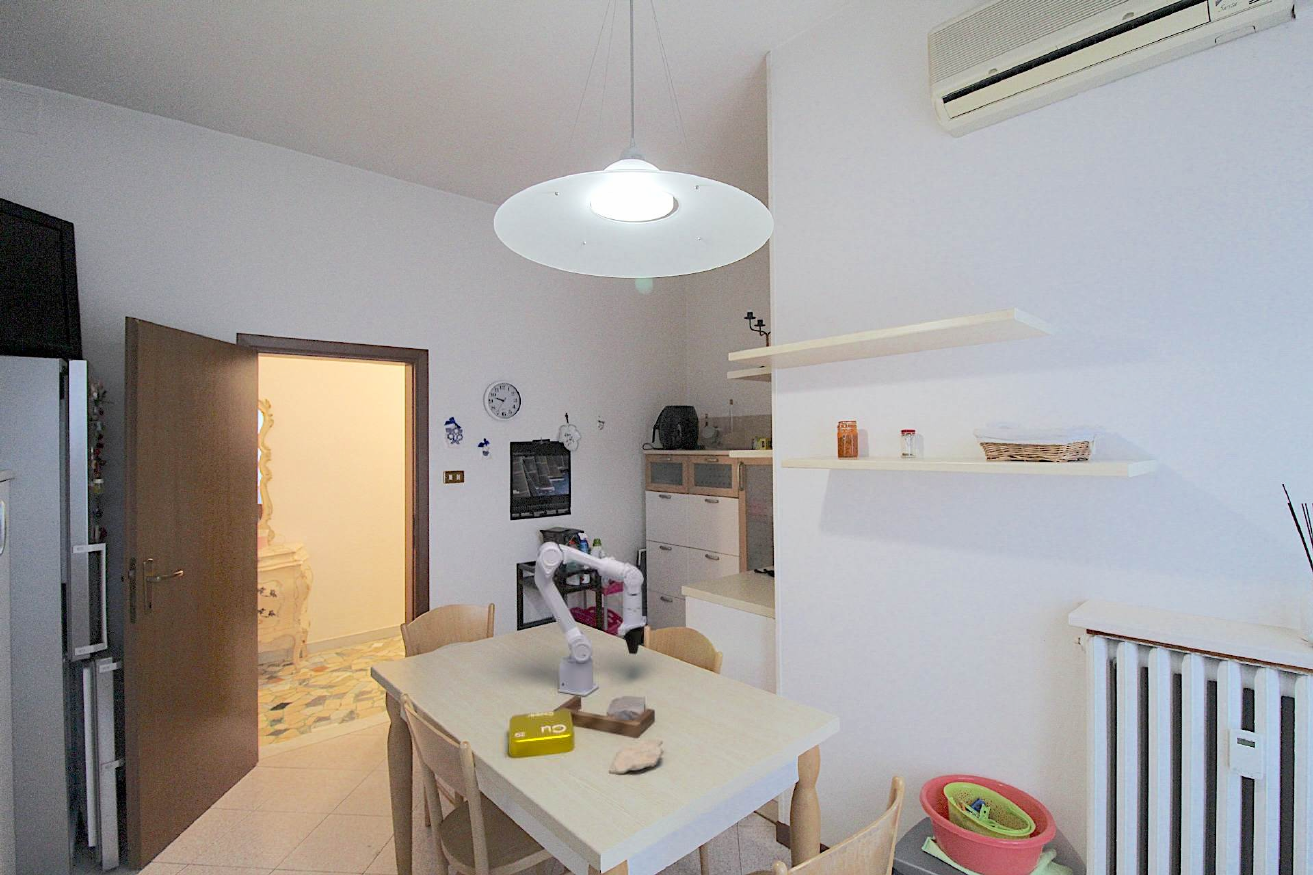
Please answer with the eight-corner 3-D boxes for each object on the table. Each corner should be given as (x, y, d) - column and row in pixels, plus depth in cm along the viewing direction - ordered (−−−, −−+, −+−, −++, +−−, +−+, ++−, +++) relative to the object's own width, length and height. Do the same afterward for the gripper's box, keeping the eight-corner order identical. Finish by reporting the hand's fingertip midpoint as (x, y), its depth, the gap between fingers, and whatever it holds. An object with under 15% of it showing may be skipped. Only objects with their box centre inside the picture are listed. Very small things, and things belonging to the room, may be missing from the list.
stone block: (608, 733, 157) (647, 725, 157) (604, 714, 157) (643, 706, 158) (611, 715, 169) (647, 707, 169) (608, 698, 169) (644, 690, 169)
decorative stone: (643, 744, 148) (597, 775, 137) (640, 728, 148) (594, 758, 137) (677, 751, 141) (632, 785, 130) (674, 734, 141) (629, 767, 130)
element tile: (570, 725, 159) (570, 706, 159) (575, 753, 144) (574, 732, 144) (510, 732, 156) (510, 713, 156) (508, 761, 141) (508, 739, 141)
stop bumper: (554, 721, 160) (553, 709, 160) (575, 706, 169) (574, 695, 169) (637, 738, 150) (637, 725, 150) (654, 721, 159) (654, 709, 159)
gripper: (632, 614, 177) (633, 662, 177) (655, 602, 190) (655, 647, 190) (611, 612, 180) (612, 659, 180) (634, 600, 193) (635, 644, 193)
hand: (633, 653), depth 185 cm, fingers closed
